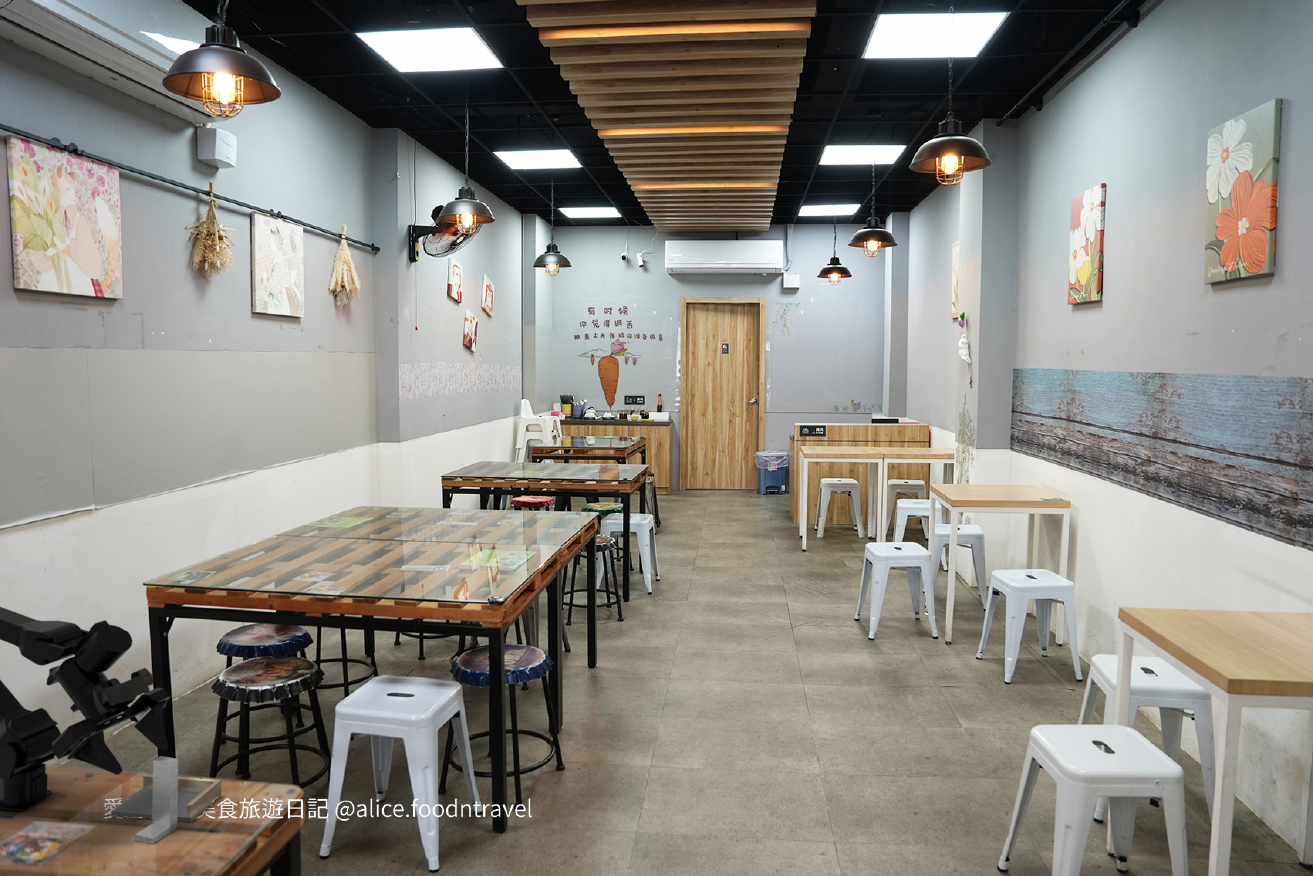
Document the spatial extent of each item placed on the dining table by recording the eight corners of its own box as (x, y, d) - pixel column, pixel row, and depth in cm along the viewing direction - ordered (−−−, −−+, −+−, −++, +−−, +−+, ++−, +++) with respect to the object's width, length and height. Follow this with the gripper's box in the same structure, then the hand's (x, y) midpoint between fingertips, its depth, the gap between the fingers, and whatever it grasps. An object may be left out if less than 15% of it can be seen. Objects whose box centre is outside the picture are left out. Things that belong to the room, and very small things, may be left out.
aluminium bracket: (176, 828, 138) (178, 759, 137) (152, 844, 133) (154, 772, 132) (159, 825, 139) (160, 756, 138) (134, 840, 134) (135, 769, 133)
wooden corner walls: (111, 816, 140) (111, 799, 140) (146, 790, 149) (146, 774, 149) (191, 822, 140) (191, 805, 140) (221, 796, 149) (221, 780, 149)
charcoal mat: (111, 816, 140) (111, 811, 140) (146, 790, 149) (146, 785, 149) (191, 822, 140) (191, 817, 140) (221, 796, 149) (221, 791, 149)
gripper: (66, 678, 129) (125, 756, 127) (162, 642, 147) (214, 711, 145) (25, 720, 131) (83, 798, 129) (124, 680, 149) (175, 748, 147)
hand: (143, 760), depth 138 cm, fingers open, 9 cm apart
